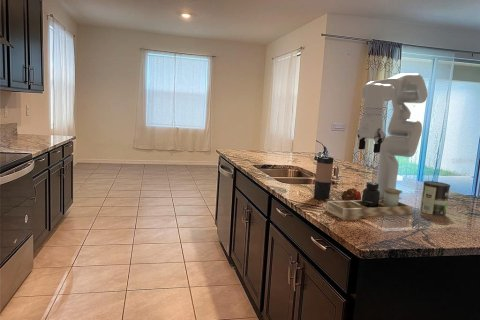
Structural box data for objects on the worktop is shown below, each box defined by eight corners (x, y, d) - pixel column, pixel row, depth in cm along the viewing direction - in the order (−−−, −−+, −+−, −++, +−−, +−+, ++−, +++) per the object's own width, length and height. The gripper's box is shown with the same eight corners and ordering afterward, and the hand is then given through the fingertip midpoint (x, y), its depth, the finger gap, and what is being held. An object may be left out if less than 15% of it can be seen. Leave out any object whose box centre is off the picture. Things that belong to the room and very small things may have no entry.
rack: (389, 208, 166) (390, 199, 165) (411, 216, 154) (413, 207, 153) (325, 210, 154) (326, 200, 154) (344, 220, 142) (345, 209, 142)
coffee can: (446, 214, 161) (450, 183, 159) (444, 219, 153) (449, 187, 151) (420, 209, 167) (424, 179, 165) (417, 214, 158) (422, 183, 156)
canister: (390, 207, 162) (392, 188, 160) (401, 211, 156) (403, 191, 154) (378, 208, 159) (381, 188, 158) (389, 212, 154) (391, 191, 152)
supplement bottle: (364, 212, 150) (368, 184, 149) (357, 208, 157) (361, 180, 155) (380, 213, 151) (384, 185, 149) (373, 208, 158) (376, 181, 156)
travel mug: (329, 201, 171) (334, 159, 169) (313, 199, 173) (317, 157, 170) (329, 197, 179) (333, 157, 176) (313, 195, 180) (317, 155, 177)
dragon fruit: (349, 211, 161) (347, 208, 173) (366, 202, 159) (364, 200, 171) (338, 194, 162) (338, 193, 174) (356, 185, 161) (354, 184, 172)
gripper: (353, 111, 166) (349, 148, 169) (380, 113, 150) (375, 154, 153) (366, 111, 169) (362, 147, 172) (394, 113, 153) (389, 153, 156)
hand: (368, 150), depth 162 cm, fingers open, 9 cm apart
